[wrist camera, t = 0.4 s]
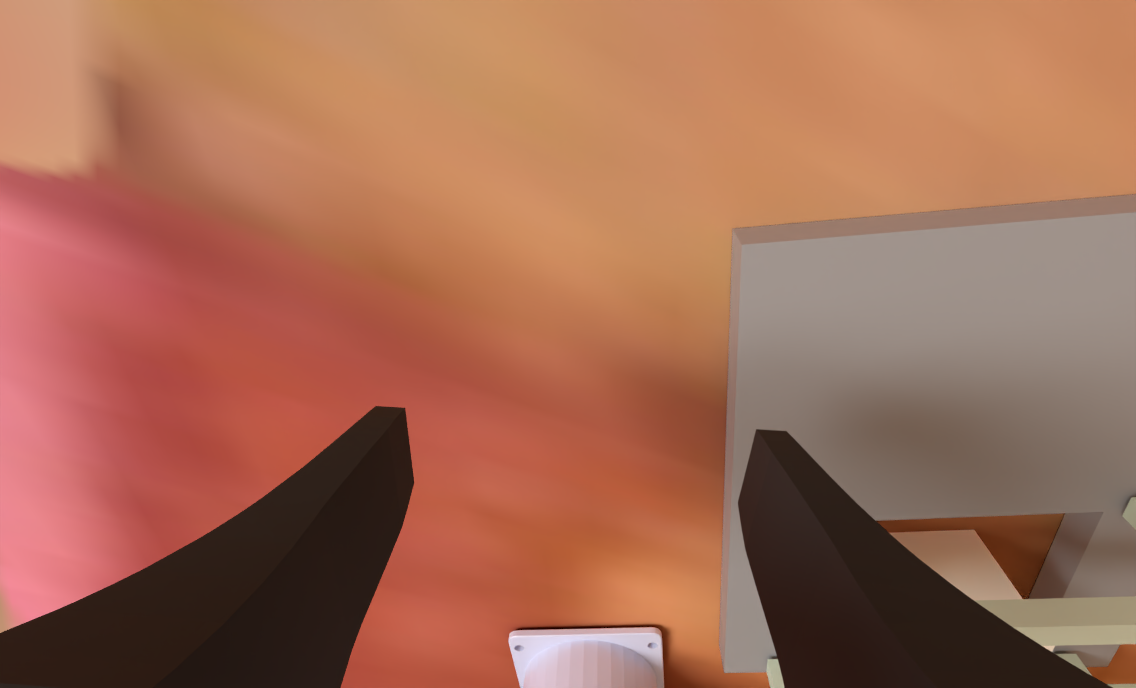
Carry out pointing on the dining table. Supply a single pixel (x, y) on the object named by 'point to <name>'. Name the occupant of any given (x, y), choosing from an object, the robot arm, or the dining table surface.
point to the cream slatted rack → (1057, 620)
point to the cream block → (961, 563)
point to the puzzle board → (944, 381)
